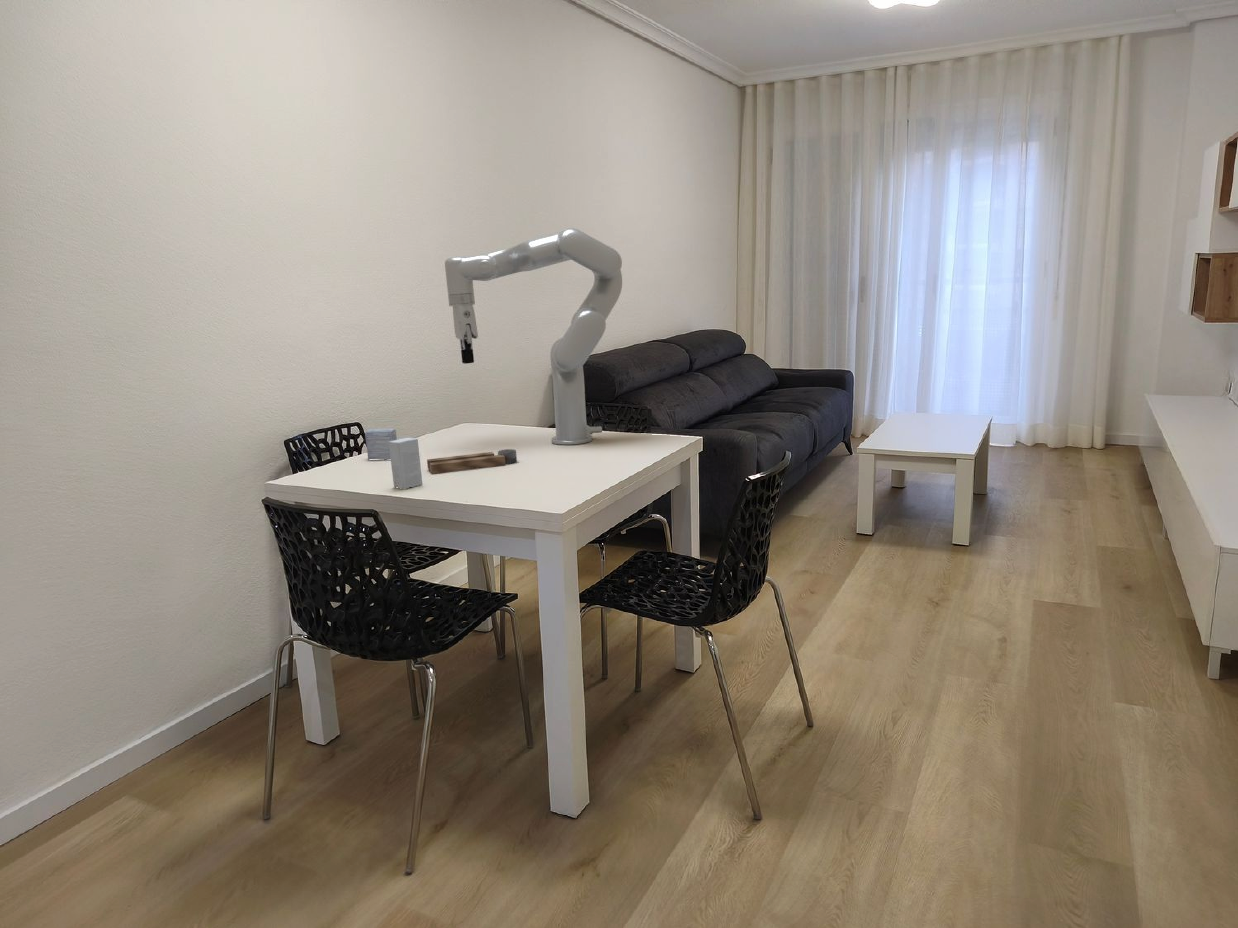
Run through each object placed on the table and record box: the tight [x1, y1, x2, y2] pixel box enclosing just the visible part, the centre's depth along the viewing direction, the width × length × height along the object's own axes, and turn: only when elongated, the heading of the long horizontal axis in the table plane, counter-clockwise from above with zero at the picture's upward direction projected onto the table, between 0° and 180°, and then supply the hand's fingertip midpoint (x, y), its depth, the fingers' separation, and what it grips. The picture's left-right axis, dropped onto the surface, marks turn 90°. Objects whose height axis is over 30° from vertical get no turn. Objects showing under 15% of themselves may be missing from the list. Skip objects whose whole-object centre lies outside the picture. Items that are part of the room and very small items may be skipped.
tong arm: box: [426, 451, 495, 471], centre depth 242 cm, size 18×3×2 cm, turn 111°
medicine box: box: [364, 428, 398, 460], centre depth 258 cm, size 8×4×9 cm, turn 84°
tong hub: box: [429, 449, 518, 475], centre depth 241 cm, size 24×6×3 cm, turn 111°
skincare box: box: [389, 437, 423, 490], centre depth 220 cm, size 6×4×12 cm
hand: (468, 362), depth 262 cm, fingers closed
